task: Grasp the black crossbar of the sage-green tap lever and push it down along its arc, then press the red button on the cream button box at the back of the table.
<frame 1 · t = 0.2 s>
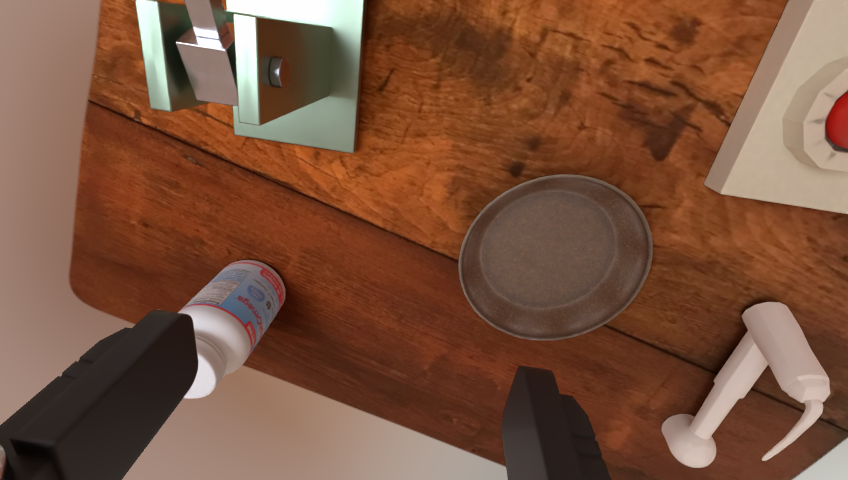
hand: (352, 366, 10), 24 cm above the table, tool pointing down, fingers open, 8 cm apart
pill bottle: (255, 284, 38), on the table
saucer: (546, 249, 35), on the table
faucet: (713, 372, 39), on the table
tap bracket: (299, 56, 29), on the table
button box: (814, 106, 28), on the table
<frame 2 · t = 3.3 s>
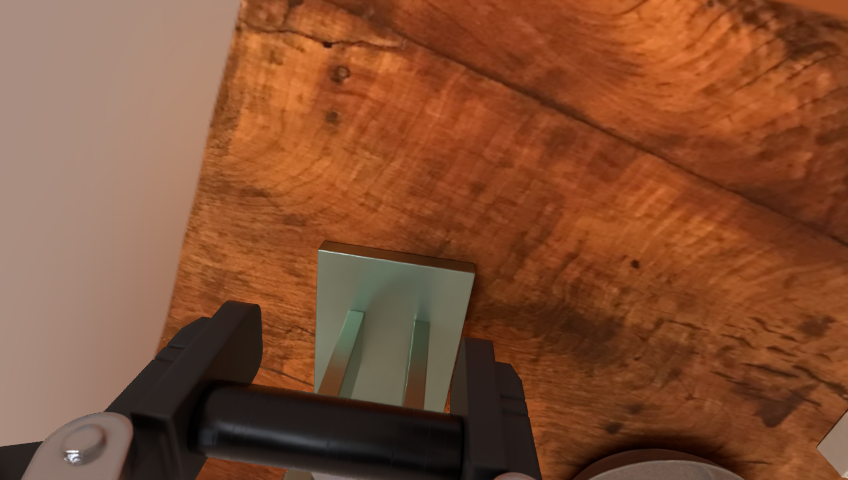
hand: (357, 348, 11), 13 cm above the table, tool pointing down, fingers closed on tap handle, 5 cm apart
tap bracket: (388, 332, 27), on the table
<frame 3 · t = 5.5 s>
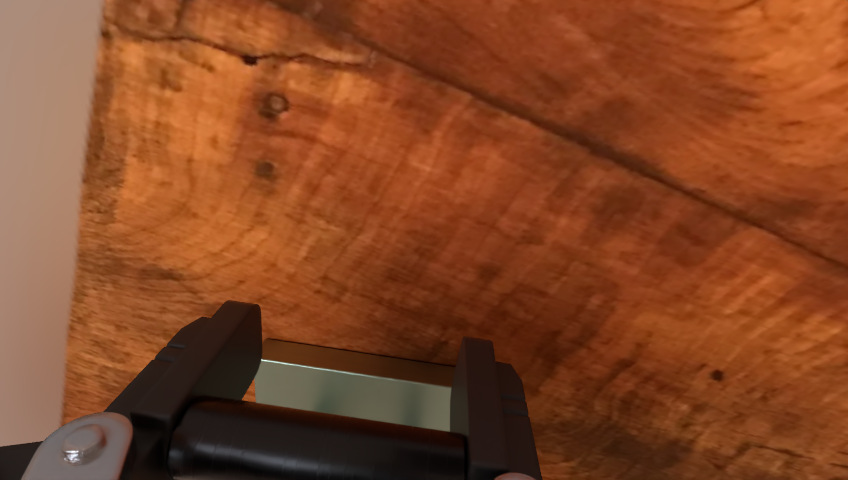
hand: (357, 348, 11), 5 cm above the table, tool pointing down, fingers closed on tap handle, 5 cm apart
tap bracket: (363, 451, 19), on the table
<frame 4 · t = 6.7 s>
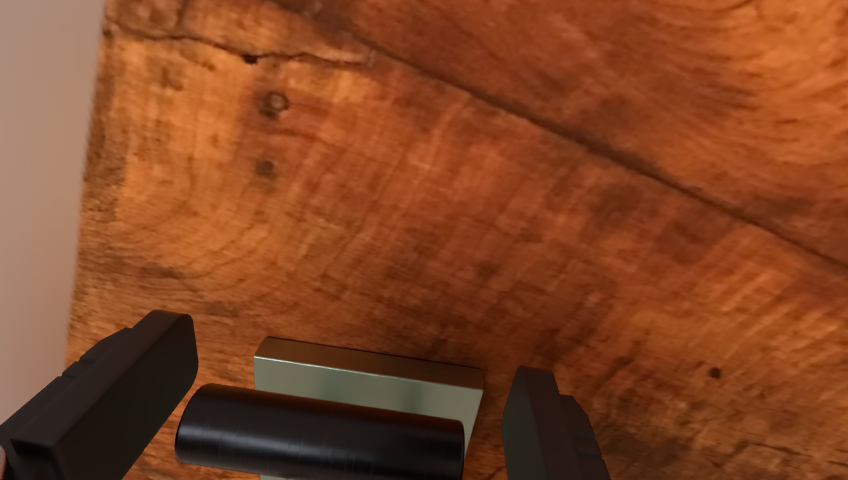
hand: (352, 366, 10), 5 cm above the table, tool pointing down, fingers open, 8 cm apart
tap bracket: (362, 449, 19), on the table
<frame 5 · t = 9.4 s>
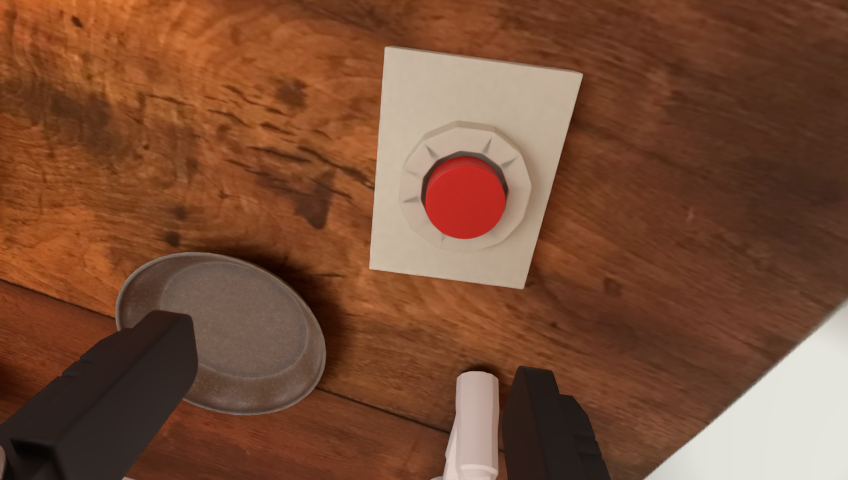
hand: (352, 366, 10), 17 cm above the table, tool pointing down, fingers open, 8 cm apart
saucer: (239, 319, 32), on the table
faucet: (458, 436, 36), on the table
button: (464, 197, 21), point 4 cm above the table, slide at 0.1 cm
button box: (461, 171, 25), on the table
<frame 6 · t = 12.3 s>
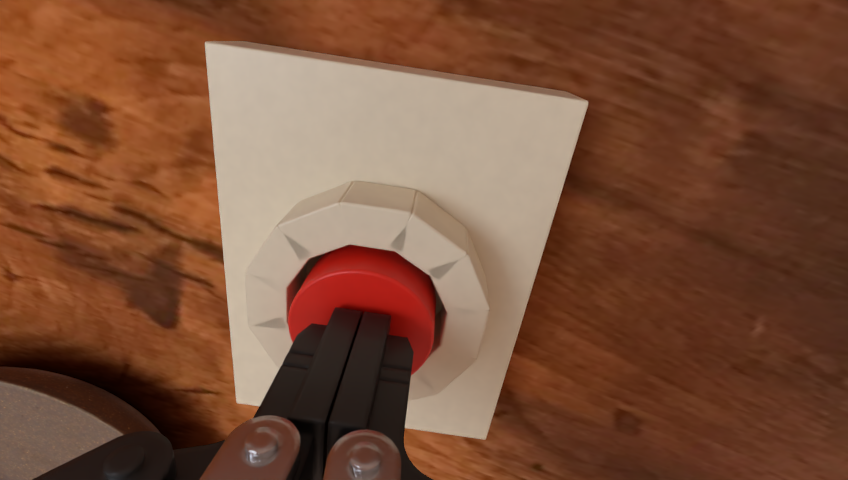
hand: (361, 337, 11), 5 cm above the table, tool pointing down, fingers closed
saucer: (77, 440, 22), on the table
button: (366, 314, 12), point 4 cm above the table, slide at -0.5 cm, touching gripper
button box: (385, 253, 15), on the table
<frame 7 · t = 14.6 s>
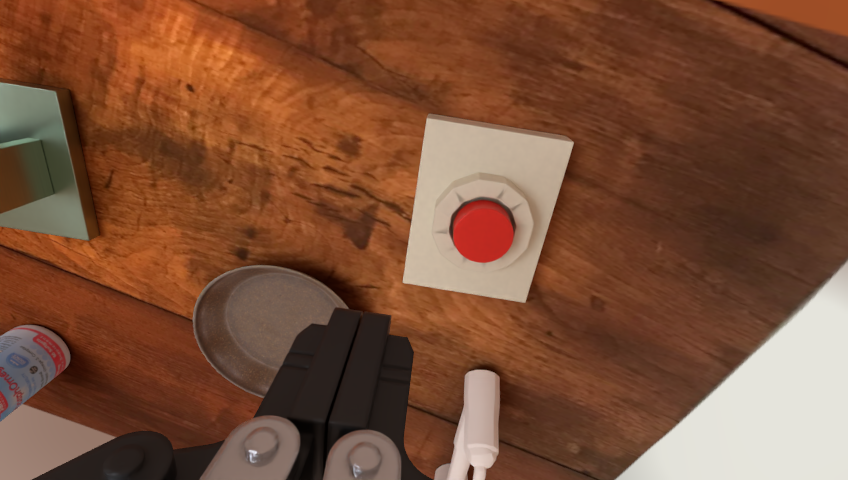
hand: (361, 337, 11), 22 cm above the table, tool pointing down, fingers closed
pill bottle: (44, 345, 42), on the table
saucer: (289, 320, 38), on the table
faucet: (464, 427, 42), on the table
button: (482, 231, 28), point 4 cm above the table, slide at 0.1 cm
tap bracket: (30, 158, 33), on the table
button box: (479, 208, 32), on the table
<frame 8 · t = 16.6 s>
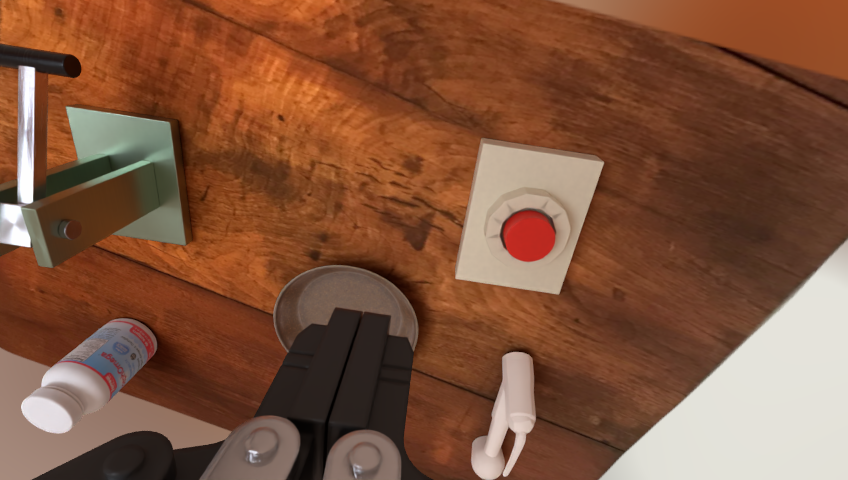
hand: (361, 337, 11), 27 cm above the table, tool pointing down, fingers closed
tap handle: (32, 149, 28), point 9 cm above the table, hinge at -17.8°
pill bottle: (134, 335, 48), on the table
saucer: (351, 312, 44), on the table
faucet: (499, 403, 49), on the table
button: (528, 236, 34), point 4 cm above the table, slide at 0.1 cm
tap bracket: (138, 176, 39), on the table
button box: (520, 215, 38), on the table
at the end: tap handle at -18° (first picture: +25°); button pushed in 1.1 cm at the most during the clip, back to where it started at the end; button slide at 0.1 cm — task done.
